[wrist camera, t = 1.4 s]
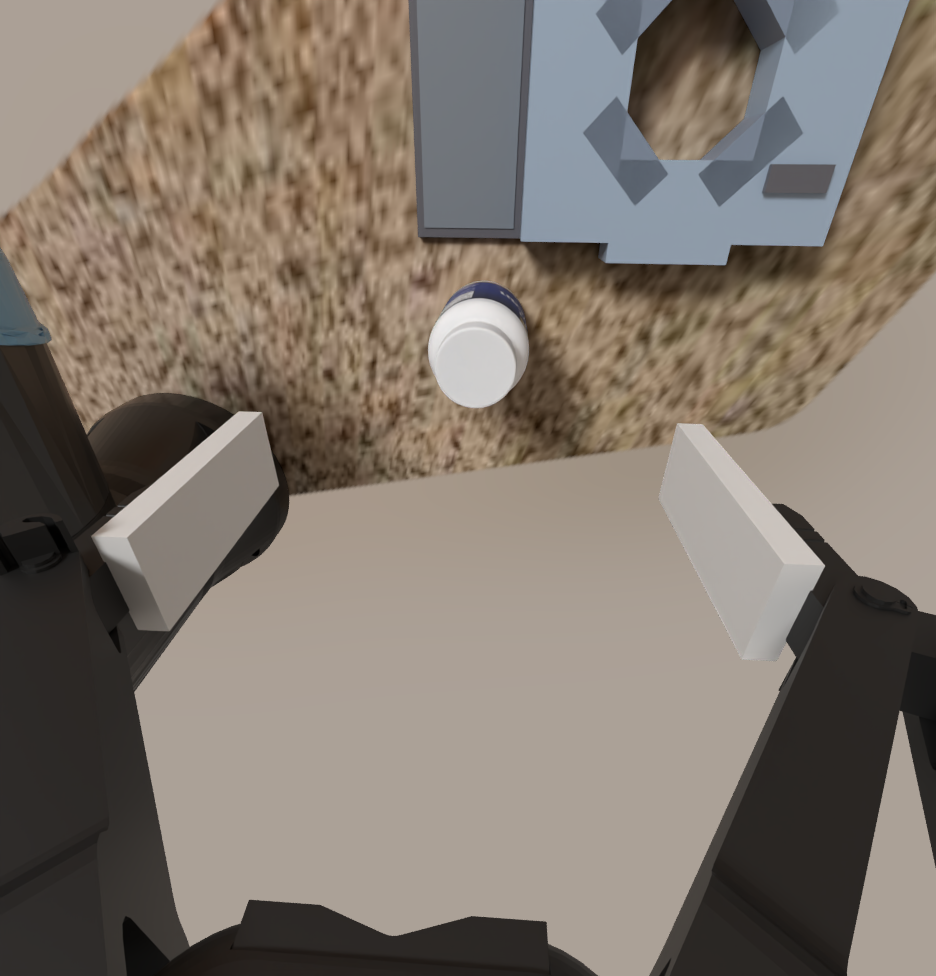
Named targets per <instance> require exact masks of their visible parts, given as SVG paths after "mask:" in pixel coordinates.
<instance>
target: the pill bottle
mask: <svg viewBox="0 0 936 976" xmlns="http://www.w3.org/2000/svg"><path fill="white" fill-rule="evenodd" d="M428 356H429V362H430V365H431V368H432V371H433V373H434V375H435V377H436V379H437V382H438V384H439V386H440V388H441V390H442V391H443V392H444V394H445V395H446V396H447V397H448V398H449V399H451V400H452V401H453V402H455V403H457V404H459V405H462V406H464V407H469V408H483V407H488V406H491V405H493V404H495V403H497V402H498V401H500V400H501V399H502V398H504V397H505V396H506V395H507V393H508V392H509V391H510V390H511V389H512V388H513V387H514V386H515V385H516V384H517V383H518V382H519V380H520V379H521V377H522V375H523V373H524V371H525V369H526V366H527V362H528V357H529V340H528V333H527V326H526V319H525V315H524V311H523V308H522V306H521V304H520V302H519V300H518V299H517V298H516V296H515V295H514V294H513V293H512V292H511V291H510V290H509V289H507V288H506V287H504V286H502V285H500V284H498V283H495V282H491V281H477V282H472V283H470V284H467V285H465V286H463V287H462V288H460V289H459V290H458V291H456V292H455V293H454V294H453V295H452V297H451V298H450V299H449V301H448V302H447V304H446V306H445V307H444V309H443V311H442V313H441V314H440V316H439V318H438V320H437V321H436V323H435V325H434V327H433V330H432V332H431V335H430V339H429V344H428Z"/></svg>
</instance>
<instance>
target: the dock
mask: <svg viewBox="0 0 936 976" xmlns="http://www.w3.org/2000/svg"><path fill="white" fill-rule="evenodd" d="M671 1H672V0H533V17H532V35H531V52H530V69H529V87H528V104H527V121H526V139H525V156H524V174H523V191H522V208H521V226H520V240H521V241H522V242H585V243H600V249H599V256H598V258H599V259H601V260H602V261H603V262H605V263H633V264H688V265H726V262H727V258H728V255H729V251H730V247H731V245H773V246H823V245H824V242H825V239H826V236H827V233H828V230H829V227H830V225H831V222H832V219H833V216H834V213H835V210H836V208H837V205H838V202H839V199H840V196H841V193H842V190H843V188H844V185H845V182H846V179H847V176H848V173H849V171H850V168H851V165H852V162H853V159H854V156H855V153H856V151H857V148H858V145H859V142H860V139H861V136H862V134H863V131H864V128H865V125H866V122H867V119H868V117H869V114H870V111H871V108H872V105H873V102H874V99H875V97H876V94H877V91H878V88H879V85H880V82H881V80H882V77H883V74H884V71H885V68H886V65H887V62H888V60H889V57H890V54H891V51H892V48H893V45H894V43H895V40H896V37H897V34H898V31H899V28H900V26H901V23H902V20H903V17H904V14H905V11H906V8H907V6H908V3H909V0H734V2H735V4H736V5H737V7H738V9H739V11H740V13H741V15H742V17H743V19H744V20H745V22H746V24H747V26H748V28H749V30H750V32H751V33H752V35H753V37H754V39H755V41H756V43H757V45H758V47H759V48H760V50H761V52H760V56H759V60H758V64H757V68H756V72H755V76H754V80H753V84H752V88H751V93H750V97H749V101H748V105H747V109H746V113H745V117H744V119H743V120H742V121H741V122H740V123H739V124H738V125H737V126H736V127H735V128H734V129H733V130H732V131H730V132H729V133H728V134H727V135H726V136H725V137H724V138H723V139H722V140H721V141H720V142H719V143H718V144H717V145H716V146H714V147H713V148H712V149H711V150H710V151H709V152H708V153H707V154H706V155H705V156H704V157H703V158H702V159H701V160H659V159H658V158H657V156H656V155H655V153H654V152H653V150H652V149H651V147H650V146H649V144H648V143H647V141H646V140H645V138H644V137H643V135H642V134H641V132H640V131H639V129H638V128H637V126H636V125H635V123H634V122H633V120H632V119H631V117H630V116H629V114H628V112H627V109H628V102H629V95H630V88H631V81H632V75H633V68H634V61H635V54H636V47H637V40H638V38H639V37H640V36H641V35H642V33H643V32H644V31H645V30H646V29H647V28H648V27H649V26H650V25H651V23H652V22H653V21H654V20H655V19H656V18H657V17H658V16H659V15H660V13H661V12H662V11H663V10H664V9H665V8H666V7H667V6H668V5H669V3H670V2H671Z"/></svg>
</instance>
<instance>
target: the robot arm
mask: <svg viewBox="0 0 936 976" xmlns="http://www.w3.org/2000/svg"><path fill="white" fill-rule="evenodd" d="M51 340H52V338H51V335H50V333H49V331H48V329H47V328H46V327H45V326H44V325H42V324H41V323H39V322H38V320H37V318H36V316H35V314H34V312H33V310H32V308H31V306H30V304H29V302H28V300H27V298H26V296H25V294H24V292H23V290H22V287H21V285H20V283H19V281H18V279H17V277H16V275H15V273H14V271H13V269H12V267H11V265H10V263H9V261H8V259H7V257H6V255H5V254H4V252H3V251H2V249H1V248H0V976H598V975H596V974H595V973H594V972H593V971H591V970H590V969H589V968H588V967H587V966H585V965H584V964H583V963H582V962H580V961H578V960H577V959H575V958H574V957H572V956H571V955H569V954H567V953H566V952H564V951H562V950H561V949H558V948H556V947H554V946H551V945H549V944H548V941H547V925H546V924H547V923H546V922H543V921H529V920H515V919H501V918H488V917H475V916H471V917H467V918H464V919H460V920H456V921H452V922H448V923H445V924H441V925H437V926H433V927H430V928H426V929H422V930H419V931H415V932H411V933H407V934H403V935H399V936H389V935H386V934H383V933H381V932H379V931H376V930H374V929H372V928H370V927H368V926H365V925H363V924H361V923H359V922H356V921H354V920H352V919H350V918H347V917H346V916H343V915H341V914H339V913H337V912H335V911H332V910H330V909H328V908H326V907H324V906H321V905H312V904H300V903H285V902H272V901H259V900H249V902H248V904H247V907H246V910H245V913H244V916H243V918H242V921H241V924H238V925H235V926H231V927H229V928H227V929H224V930H222V931H219V932H217V933H214V934H212V935H210V936H209V937H207V938H205V939H203V940H201V941H200V942H198V943H196V944H194V945H192V946H191V947H189V944H188V941H187V938H186V936H185V933H184V931H183V928H182V926H181V924H180V921H179V918H178V915H177V911H176V907H175V903H174V898H173V893H172V888H171V883H170V877H169V872H168V867H167V861H166V856H165V852H164V846H163V841H162V835H161V830H160V825H159V820H158V815H157V809H156V804H155V799H154V793H153V788H152V783H151V778H150V773H149V767H148V762H147V757H146V752H145V747H144V741H143V736H142V731H141V726H140V720H139V715H138V710H137V705H136V699H135V694H134V691H135V690H136V689H137V687H138V686H139V685H140V683H141V682H142V681H143V679H144V678H145V676H146V675H147V674H148V672H149V671H150V669H151V668H152V667H153V665H154V664H155V662H156V661H157V660H158V658H159V657H160V656H161V654H162V653H163V652H164V650H165V649H166V648H167V646H168V645H169V643H170V642H171V640H172V639H173V638H174V637H175V635H176V634H177V632H178V631H179V630H180V628H181V627H182V625H183V624H184V623H185V621H186V620H187V619H188V617H189V616H190V614H191V613H192V612H193V610H194V609H195V607H196V606H197V605H198V604H199V602H200V601H201V600H202V598H203V597H204V595H205V594H206V593H207V592H208V590H209V589H210V588H211V587H212V586H214V585H216V584H217V583H219V582H220V581H222V580H223V579H225V578H227V577H228V576H230V575H231V574H232V573H234V572H235V571H237V570H238V569H239V568H240V567H242V566H244V565H246V564H248V563H250V562H251V561H253V560H254V559H256V558H257V557H258V556H260V555H261V554H262V553H263V552H264V551H265V550H266V549H267V548H268V547H269V546H270V544H271V543H272V542H273V540H274V539H275V537H276V535H277V534H278V533H279V531H280V530H281V528H282V527H283V525H284V523H285V520H286V517H287V514H288V509H289V491H288V486H287V482H286V479H285V476H284V473H283V471H282V468H281V466H280V464H279V462H278V460H277V459H276V457H275V455H274V454H273V453H272V451H271V448H270V444H269V440H268V436H267V431H266V427H265V423H264V418H263V414H262V412H241V411H239V412H238V413H236V414H235V415H232V414H231V413H229V412H227V411H226V410H224V409H222V408H220V407H218V406H216V405H214V404H212V403H209V402H207V401H204V400H201V399H198V398H194V397H191V396H186V395H181V394H172V393H156V394H148V395H144V396H140V397H137V398H134V399H132V400H130V401H128V402H126V403H124V404H122V405H121V406H119V407H117V408H115V409H113V410H112V411H110V412H108V413H107V414H105V415H104V416H103V417H101V418H100V419H99V420H98V421H97V422H96V423H95V424H94V425H93V426H92V427H91V429H90V430H89V432H88V433H87V435H86V432H85V430H84V428H83V426H82V423H81V421H80V419H79V416H78V414H77V412H76V409H75V407H74V405H73V403H72V400H71V398H70V396H69V393H68V391H67V389H66V386H65V384H64V382H63V380H62V377H61V375H60V373H59V370H58V368H57V366H56V363H55V361H54V359H53V357H52V354H51V352H50V350H49V347H48V345H47V343H48V342H49V341H51ZM659 500H660V502H661V504H662V506H663V508H664V510H665V512H666V514H667V516H668V518H669V520H670V522H671V524H672V526H673V528H674V530H675V532H676V533H677V535H678V537H679V539H680V541H681V543H682V545H683V547H684V549H685V551H686V553H687V555H688V557H689V559H690V561H691V562H692V565H693V567H694V568H695V570H696V572H697V574H698V576H699V578H700V580H701V582H702V584H703V586H704V588H705V590H706V592H707V594H708V596H709V598H710V599H711V601H712V603H713V605H714V607H715V609H716V611H717V613H718V615H719V617H720V619H721V621H722V623H723V625H724V627H725V628H726V631H727V632H728V634H729V636H730V638H731V640H732V642H733V644H734V646H735V648H736V650H737V652H738V654H739V656H740V658H741V659H743V660H766V661H777V659H778V657H779V655H780V654H781V652H782V649H783V648H784V646H785V644H786V642H787V643H788V645H789V646H790V648H791V649H792V651H793V652H794V654H795V656H796V659H795V660H794V662H793V665H792V666H791V668H790V670H789V672H788V673H787V675H786V677H785V679H784V681H783V683H782V685H781V686H780V688H779V691H780V692H779V694H778V697H777V699H776V701H775V703H774V705H773V708H772V710H771V712H770V714H769V717H768V719H767V721H766V723H765V725H764V728H763V730H762V732H761V734H760V736H759V738H758V741H757V743H756V745H755V747H754V750H753V752H752V754H751V756H750V758H749V760H748V763H747V765H746V767H745V769H744V771H743V774H742V776H741V778H740V780H739V782H738V785H737V787H736V789H735V791H734V793H733V796H732V798H731V800H730V802H729V805H728V807H727V809H726V811H725V813H724V816H723V818H722V820H721V822H720V825H719V827H718V829H717V831H716V833H715V835H714V837H713V840H712V842H711V845H710V846H709V849H708V851H707V853H706V855H705V857H704V860H703V862H702V864H701V866H700V868H699V871H698V873H697V875H696V877H695V879H694V882H693V884H692V886H691V888H690V890H689V893H688V895H687V897H686V899H685V901H684V904H683V906H682V908H681V910H680V913H679V915H678V917H677V919H676V921H675V923H674V926H673V928H672V930H671V932H670V934H669V937H668V939H667V941H666V943H665V945H664V948H663V950H662V952H661V954H660V956H659V958H658V960H657V962H656V964H655V966H654V968H653V970H652V972H651V973H650V975H649V976H847V966H848V958H849V954H850V949H851V944H852V939H853V934H854V930H855V925H856V920H857V915H858V909H859V905H860V900H861V895H862V890H863V886H864V881H865V876H866V871H867V866H868V861H869V857H870V851H871V847H872V842H873V837H874V832H875V827H876V822H877V817H878V812H879V808H880V803H881V798H882V793H883V788H884V783H885V778H886V774H887V769H888V764H889V759H890V754H891V749H892V744H893V739H894V735H895V730H896V725H897V720H898V715H899V710H900V711H903V716H904V720H905V725H906V730H907V735H908V739H909V744H910V748H911V754H912V758H913V763H914V767H915V772H916V777H917V782H918V786H919V791H920V796H921V801H922V805H923V810H924V815H925V819H926V824H927V828H928V833H929V838H930V843H931V847H932V852H933V857H934V861H935V866H936V615H933V614H928V613H924V612H920V611H918V609H917V607H916V605H915V604H914V603H913V602H912V601H911V600H910V598H909V597H907V596H906V595H904V594H903V593H902V592H900V591H899V590H898V589H896V588H894V587H892V586H890V585H888V584H886V583H884V582H881V581H878V580H875V579H871V578H868V577H863V576H858V575H857V574H856V573H855V572H854V571H853V570H852V569H851V568H850V567H849V566H848V565H847V564H846V562H845V561H844V560H843V559H842V558H841V557H840V556H839V555H838V554H837V553H836V552H835V551H834V550H833V549H832V547H831V546H830V545H829V544H828V543H825V542H824V539H823V538H822V537H821V536H820V535H819V533H818V532H814V528H813V527H812V526H811V525H810V524H809V523H808V522H807V521H806V520H805V519H804V517H803V516H802V515H800V514H798V513H797V512H795V511H794V510H792V509H790V508H789V507H787V506H785V505H784V504H771V503H770V502H769V500H768V499H767V498H766V497H765V496H764V495H763V494H762V492H761V491H760V490H759V489H758V488H757V487H756V485H755V484H754V483H753V482H752V481H751V480H750V478H749V477H748V476H747V475H746V474H745V473H744V472H743V470H742V469H740V467H739V466H738V465H737V464H736V462H735V461H734V460H733V459H732V458H731V457H730V456H729V454H728V453H727V452H726V451H725V450H724V449H723V447H722V446H721V445H720V444H719V443H718V442H717V440H716V439H715V438H714V437H713V436H712V435H711V434H710V432H709V431H708V430H707V429H706V428H705V427H704V425H703V424H677V426H676V430H675V434H674V438H673V442H672V446H671V450H670V454H669V458H668V462H667V467H666V470H665V475H664V479H663V482H662V486H661V490H660V494H659Z"/></svg>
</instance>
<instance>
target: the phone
mask: <svg viewBox="0 0 936 976" xmlns="http://www.w3.org/2000/svg"><path fill="white" fill-rule="evenodd" d="M532 13H533V0H409V22H410V47H411V71H412V96H413V121H414V145H415V170H416V194H417V219H418V237H459V238H520V225H521V207H522V190H523V172H524V154H525V137H526V119H527V101H528V84H529V66H530V48H531V31H532Z"/></svg>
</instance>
